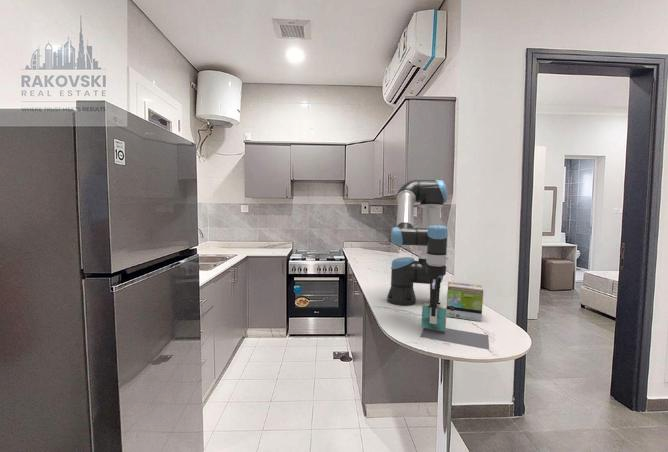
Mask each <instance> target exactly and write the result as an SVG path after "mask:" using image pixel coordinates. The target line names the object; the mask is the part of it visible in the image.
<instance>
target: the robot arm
mask: <svg viewBox="0 0 668 452" xmlns="http://www.w3.org/2000/svg"><path fill="white" fill-rule="evenodd" d="M447 200H448V191H447V186H446V182H445V181H444V180H443V179H441V180H440V179H412V180H409V181H407V182H405V183H404V184H403V185H402V186H401V187H400V188H399V189H398V191H397V194H396V202H397V216H396V226H395V227H391V231H390V236H391V238H390V239H391V240H390V241H391V244H393V245H400V246H418V247H419V246H420V247H421V255H419V256H418V260H415V258H414V257H406V256H404V257H397V258H394V259H393V260H392V261H391V267H390V269H391V275H390V276H391V277H390V288H389V290H388V294H387V296H386V301H387V302H388V303H389V304H391V305H395V306H396V305H397V306H404V307H405V306H413V305H416V304H417V296H416V294H415V290H414V284H424V285H425V284H427V285H429V304H430V305H429V306H428V307H430V323H432V324H437V305H440V306H441V302H440V294H441V293H440V292H441V284H442V282H443V279H444V276H445V275H446V274H447V266H446V264H447V260H448V259H449V257H448V256H447V249H448V237H449V233H448V229H449V228H448V227H447V226H446V225H441V209H442V208H444V204H445V203H447ZM415 203H419V204H420V205H419V206H420V208H422V227H414V224H415V223H414V218H415V215H414V211H415V209H414V208H415V207H414V206H415V205H414V204H415Z"/></svg>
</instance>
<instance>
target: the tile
mask: <svg viewBox="0 0 668 452" xmlns="http://www.w3.org/2000/svg"><path fill="white" fill-rule="evenodd" d="M429 305H430V303H426V302H425V303H423V304H422V306H421V307H422V309H421V312H422V313H421V328H424V327H425V328H430V329H436V330H442V331H445V329H446V328H447V326H446V325H447V315H446V314H447V305H446V306H444V305H441V304H440V305H439V304H437V324H432V323H430V307H428V306H429Z"/></svg>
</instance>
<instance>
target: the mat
mask: <svg viewBox="0 0 668 452" xmlns="http://www.w3.org/2000/svg"><path fill="white" fill-rule="evenodd" d="M419 337H420V338H424V339H430V340H436V341H440V342H446V343H451V344H457V345H462V346H467V347H473V348H479V349H484V350H490V339H489V334H484V333H479V332H473V331H466V330H465V331H464V330H460V329H459V330H458V329H454V328H449V327H448V328H447V327H446V329H445V331H442V330H436V329H430V328H425V327H423V329H422V330H421V333H420V336H419Z"/></svg>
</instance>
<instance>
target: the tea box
mask: <svg viewBox="0 0 668 452" xmlns="http://www.w3.org/2000/svg"><path fill="white" fill-rule="evenodd" d="M446 294H447V296H446V307H447V310H446V318H448V317H449V318H456V319H464V320H469V321H475V322H482V316H483V303H484V302H483V301H484V289H483V286H482V284H474V283H473V284H472V283H464V282H455V281H448V282H447V293H446Z"/></svg>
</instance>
